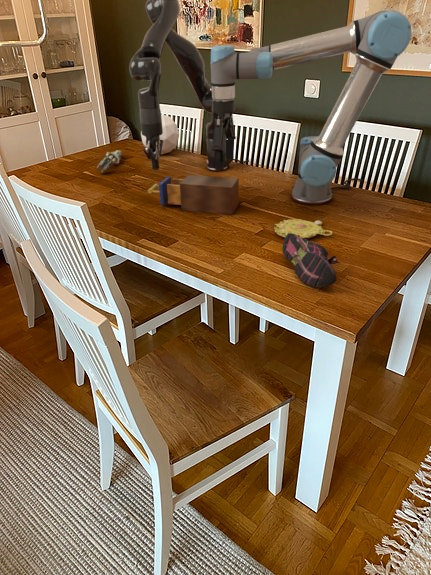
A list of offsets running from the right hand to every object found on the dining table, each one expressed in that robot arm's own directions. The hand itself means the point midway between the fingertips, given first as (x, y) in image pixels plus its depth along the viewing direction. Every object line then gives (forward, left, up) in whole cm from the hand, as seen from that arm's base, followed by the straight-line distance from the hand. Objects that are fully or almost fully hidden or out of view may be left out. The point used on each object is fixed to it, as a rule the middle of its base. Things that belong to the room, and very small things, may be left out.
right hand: (224, 163), depth 156 cm
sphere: (+18, -81, -17) cm, 85 cm away
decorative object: (-20, +26, -17) cm, 37 cm away
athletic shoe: (-15, +51, -17) cm, 56 cm away
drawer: (+16, -8, -16) cm, 24 cm away
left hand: (+24, -12, -4) cm, 27 cm away
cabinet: (+5, -3, -17) cm, 18 cm away
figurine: (+43, -66, -17) cm, 81 cm away
